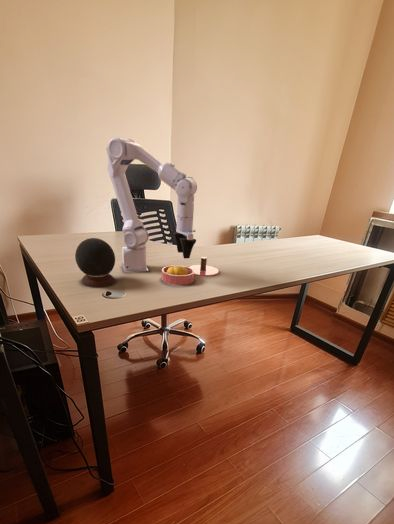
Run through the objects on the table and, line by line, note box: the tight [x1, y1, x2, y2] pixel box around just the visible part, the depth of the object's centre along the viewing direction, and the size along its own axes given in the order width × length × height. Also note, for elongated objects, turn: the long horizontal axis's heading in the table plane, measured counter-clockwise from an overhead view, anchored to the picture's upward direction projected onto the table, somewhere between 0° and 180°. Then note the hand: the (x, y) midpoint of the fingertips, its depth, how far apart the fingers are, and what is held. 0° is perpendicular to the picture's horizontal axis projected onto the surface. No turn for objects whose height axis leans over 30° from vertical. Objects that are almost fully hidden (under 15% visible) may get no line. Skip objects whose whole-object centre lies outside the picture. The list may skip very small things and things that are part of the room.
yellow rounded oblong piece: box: [167, 265, 190, 276], centre depth 114 cm, size 9×5×5 cm, turn 108°
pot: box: [161, 264, 195, 286], centre depth 115 cm, size 12×12×4 cm
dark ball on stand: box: [74, 237, 116, 288], centre depth 106 cm, size 13×13×15 cm
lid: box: [188, 256, 220, 277], centre depth 125 cm, size 13×13×6 cm
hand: (183, 255), depth 115 cm, fingers open, 7 cm apart
